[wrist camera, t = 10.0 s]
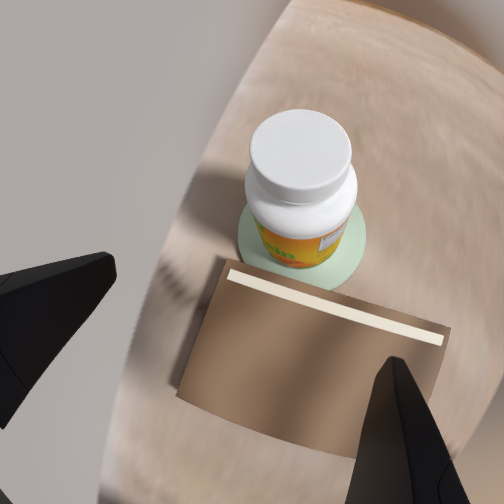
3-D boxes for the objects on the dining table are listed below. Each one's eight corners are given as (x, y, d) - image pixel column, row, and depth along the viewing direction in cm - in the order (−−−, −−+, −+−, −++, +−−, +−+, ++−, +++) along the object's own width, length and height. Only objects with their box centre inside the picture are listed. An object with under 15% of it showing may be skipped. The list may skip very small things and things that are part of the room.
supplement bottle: (246, 233, 20) (203, 149, 11) (300, 184, 20) (295, 82, 11) (301, 288, 18) (303, 238, 9) (355, 233, 19) (395, 146, 10)
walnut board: (443, 328, 16) (451, 327, 15) (394, 459, 14) (399, 466, 13) (231, 262, 20) (227, 257, 19) (182, 393, 18) (174, 396, 16)
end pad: (369, 294, 18) (371, 293, 17) (236, 297, 19) (235, 296, 19) (356, 176, 20) (357, 173, 20) (240, 180, 22) (239, 177, 21)
